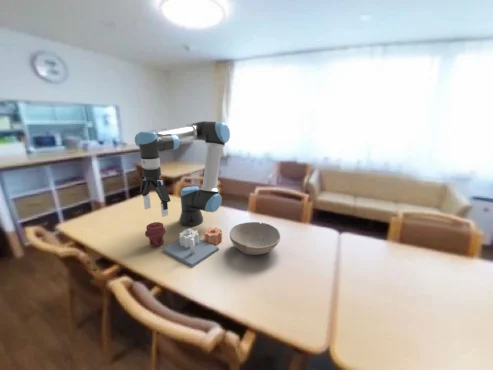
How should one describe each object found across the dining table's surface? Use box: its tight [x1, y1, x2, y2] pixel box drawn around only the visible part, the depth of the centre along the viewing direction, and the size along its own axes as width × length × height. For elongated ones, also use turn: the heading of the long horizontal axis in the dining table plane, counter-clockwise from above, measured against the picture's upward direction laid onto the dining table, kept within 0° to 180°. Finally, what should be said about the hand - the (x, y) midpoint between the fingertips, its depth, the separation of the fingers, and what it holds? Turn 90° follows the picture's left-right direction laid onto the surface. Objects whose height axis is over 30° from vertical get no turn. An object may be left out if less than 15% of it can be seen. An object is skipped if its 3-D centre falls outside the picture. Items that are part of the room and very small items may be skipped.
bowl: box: [229, 221, 281, 256], centre depth 123 cm, size 26×26×10 cm
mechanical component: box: [144, 221, 167, 249], centre depth 125 cm, size 12×10×10 cm
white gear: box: [178, 228, 200, 248], centre depth 126 cm, size 10×10×6 cm
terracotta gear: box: [203, 227, 223, 246], centre depth 132 cm, size 10×10×6 cm
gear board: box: [162, 228, 220, 268], centre depth 121 cm, size 18×22×10 cm
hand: (156, 212), depth 110 cm, fingers open, 13 cm apart
